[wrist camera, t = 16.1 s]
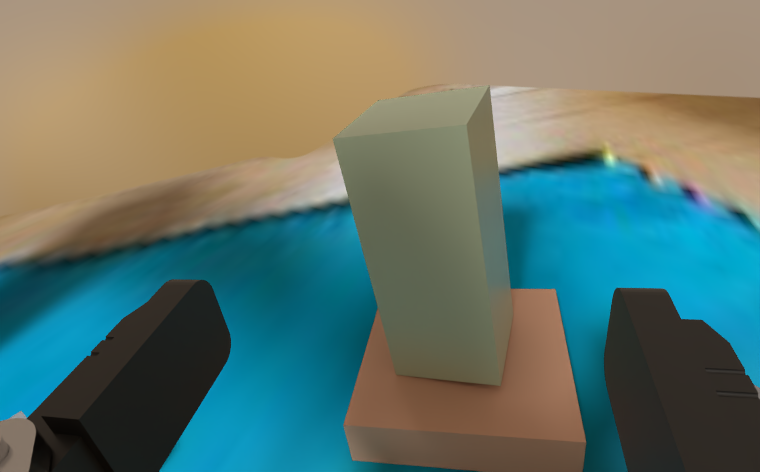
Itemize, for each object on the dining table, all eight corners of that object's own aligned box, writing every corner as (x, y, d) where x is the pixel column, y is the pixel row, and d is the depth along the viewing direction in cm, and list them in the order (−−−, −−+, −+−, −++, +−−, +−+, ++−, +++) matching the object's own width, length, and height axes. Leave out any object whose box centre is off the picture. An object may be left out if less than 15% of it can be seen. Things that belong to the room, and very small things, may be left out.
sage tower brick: (395, 374, 23) (332, 138, 18) (422, 309, 27) (378, 100, 22) (500, 386, 21) (466, 124, 16) (513, 314, 25) (489, 85, 20)
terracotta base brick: (354, 467, 23) (343, 425, 21) (389, 325, 31) (383, 288, 30) (580, 488, 20) (586, 442, 19) (553, 329, 29) (555, 289, 27)
